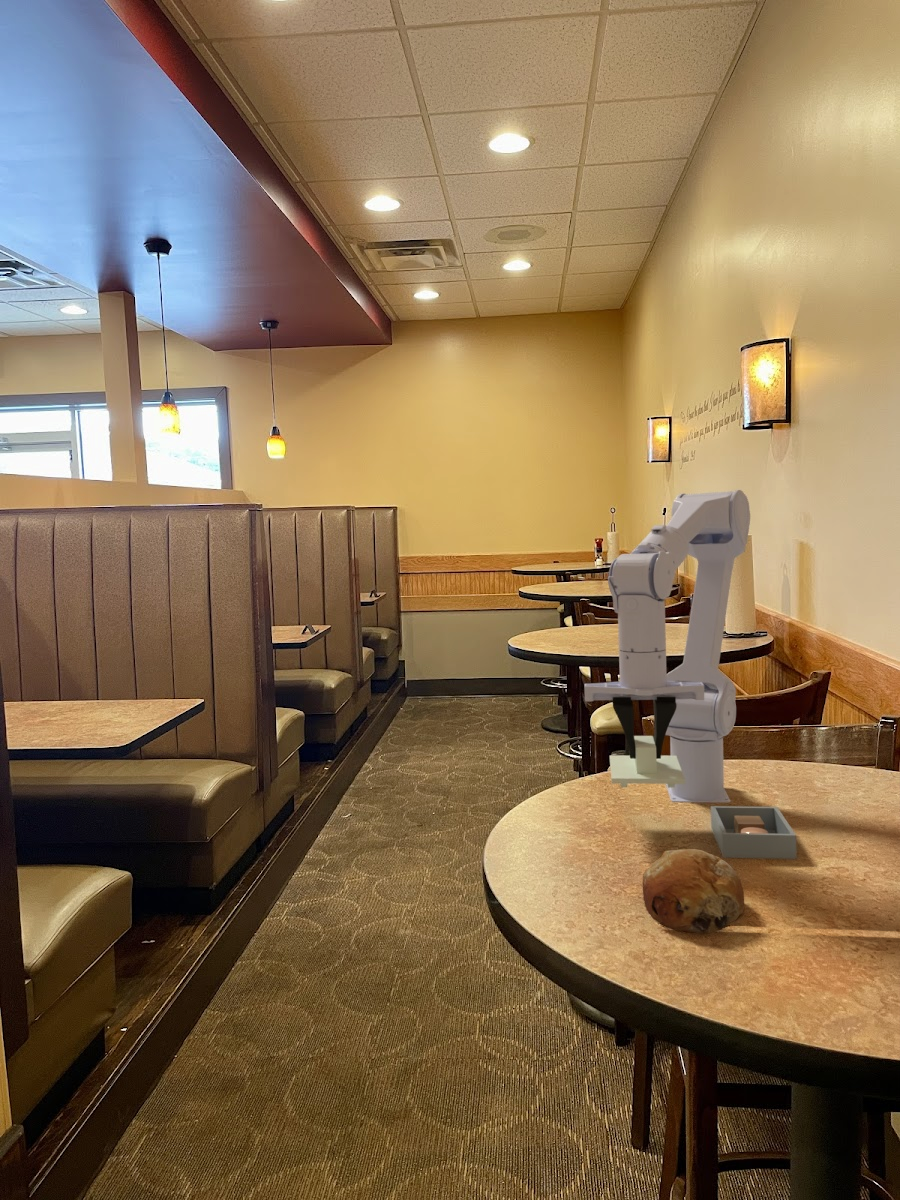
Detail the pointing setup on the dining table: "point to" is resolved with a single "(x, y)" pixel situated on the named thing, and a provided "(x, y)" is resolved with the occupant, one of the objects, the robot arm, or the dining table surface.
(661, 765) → the lid
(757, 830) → the light brown rounded piece
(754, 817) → the walnut block
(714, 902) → the bread roll
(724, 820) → the box
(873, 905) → the dining table surface
